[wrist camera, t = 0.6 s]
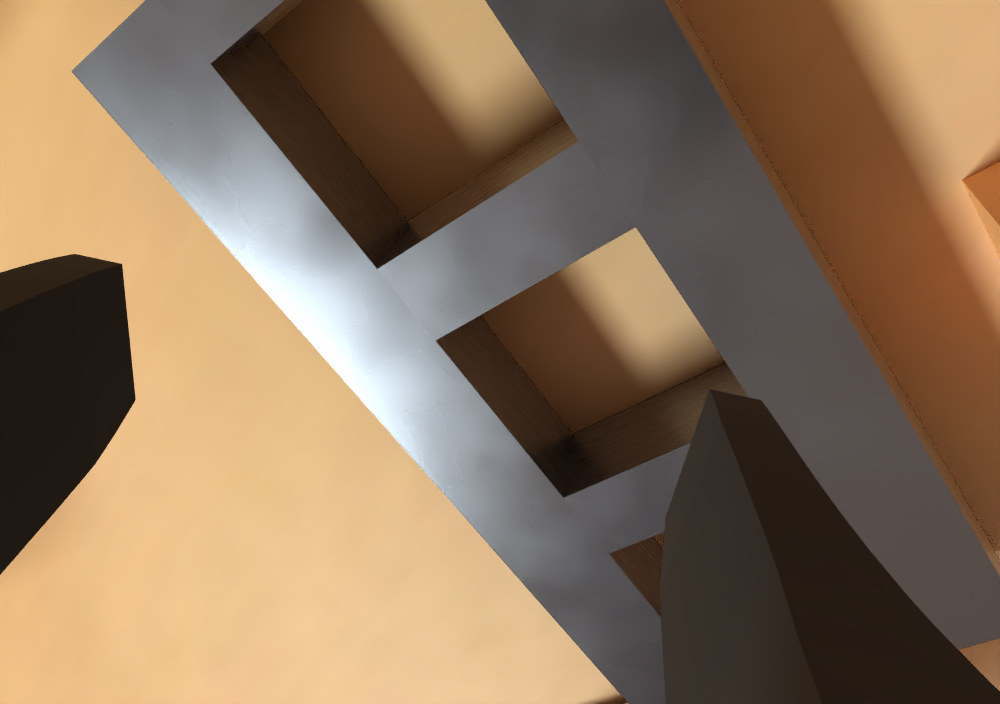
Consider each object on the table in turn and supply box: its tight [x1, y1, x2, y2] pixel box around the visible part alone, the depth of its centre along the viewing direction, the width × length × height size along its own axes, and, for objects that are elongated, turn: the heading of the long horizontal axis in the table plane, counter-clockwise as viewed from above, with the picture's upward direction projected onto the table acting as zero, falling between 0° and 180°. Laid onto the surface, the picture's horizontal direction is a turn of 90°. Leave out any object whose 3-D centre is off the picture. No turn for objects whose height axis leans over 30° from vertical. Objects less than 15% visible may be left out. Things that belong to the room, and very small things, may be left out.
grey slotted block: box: [72, 0, 1000, 704], centre depth 20 cm, size 22×10×2 cm, turn 36°
